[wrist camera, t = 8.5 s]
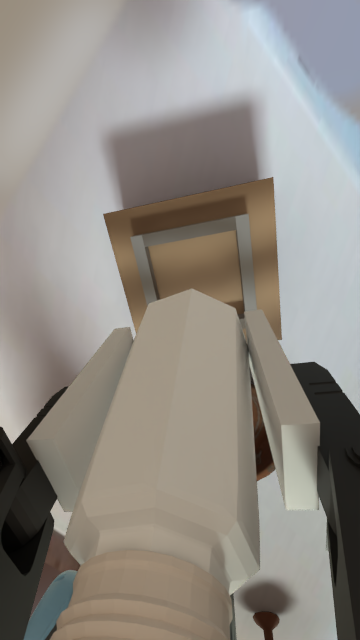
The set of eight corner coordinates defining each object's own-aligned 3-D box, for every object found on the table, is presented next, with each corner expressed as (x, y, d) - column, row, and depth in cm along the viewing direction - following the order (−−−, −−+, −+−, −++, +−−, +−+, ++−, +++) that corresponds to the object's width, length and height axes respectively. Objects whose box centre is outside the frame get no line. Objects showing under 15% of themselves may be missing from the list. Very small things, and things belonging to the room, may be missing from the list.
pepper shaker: (131, 284, 12) (-357, 754, 2) (255, 290, 11) (656, 1015, 1) (137, 384, 14) (-60, 858, 4) (241, 393, 13) (338, 961, 3)
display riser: (268, 316, 31) (284, 345, 24) (153, 331, 33) (139, 361, 26) (259, 184, 26) (276, 175, 19) (124, 213, 28) (97, 214, 21)
